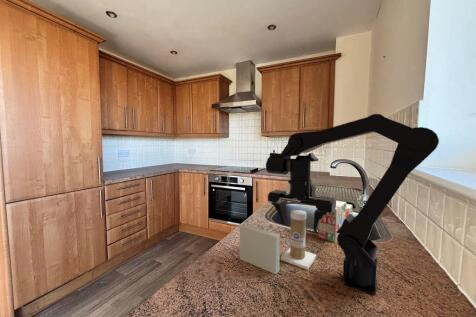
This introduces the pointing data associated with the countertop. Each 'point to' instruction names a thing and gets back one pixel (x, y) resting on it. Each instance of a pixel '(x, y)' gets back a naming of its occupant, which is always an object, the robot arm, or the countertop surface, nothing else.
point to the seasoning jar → (298, 234)
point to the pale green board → (260, 248)
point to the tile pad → (301, 263)
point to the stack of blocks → (334, 221)
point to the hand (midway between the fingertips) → (299, 228)
